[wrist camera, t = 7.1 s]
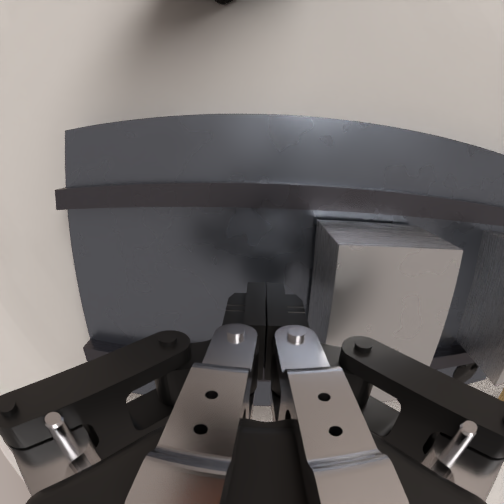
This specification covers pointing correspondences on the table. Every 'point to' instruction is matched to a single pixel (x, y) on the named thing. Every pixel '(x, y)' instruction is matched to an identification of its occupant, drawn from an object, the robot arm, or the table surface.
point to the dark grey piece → (269, 221)
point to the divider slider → (382, 286)
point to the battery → (223, 1)
